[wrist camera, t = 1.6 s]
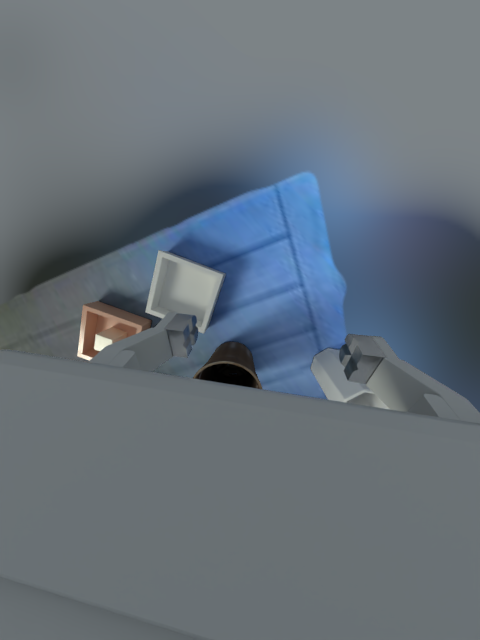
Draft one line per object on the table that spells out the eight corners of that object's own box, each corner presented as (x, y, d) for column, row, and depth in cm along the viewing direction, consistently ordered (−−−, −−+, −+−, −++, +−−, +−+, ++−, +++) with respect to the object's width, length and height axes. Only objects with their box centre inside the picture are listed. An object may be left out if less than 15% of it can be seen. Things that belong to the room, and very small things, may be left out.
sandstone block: (124, 345, 56) (110, 354, 50) (110, 340, 55) (93, 349, 50) (127, 332, 54) (112, 340, 48) (112, 326, 54) (95, 334, 48)
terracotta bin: (141, 365, 58) (131, 374, 54) (91, 348, 58) (77, 356, 53) (151, 320, 54) (142, 326, 49) (98, 301, 53) (83, 304, 48)
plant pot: (201, 337, 54) (181, 365, 39) (256, 330, 53) (258, 358, 38) (211, 384, 59) (197, 426, 44) (262, 379, 58) (266, 422, 42)
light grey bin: (208, 327, 53) (203, 333, 49) (154, 307, 53) (145, 312, 48) (226, 273, 49) (223, 274, 44) (167, 251, 48) (158, 250, 43)
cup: (312, 383, 57) (341, 438, 39) (307, 351, 54) (335, 394, 36) (350, 377, 56) (397, 430, 38) (347, 344, 53) (396, 385, 35)
